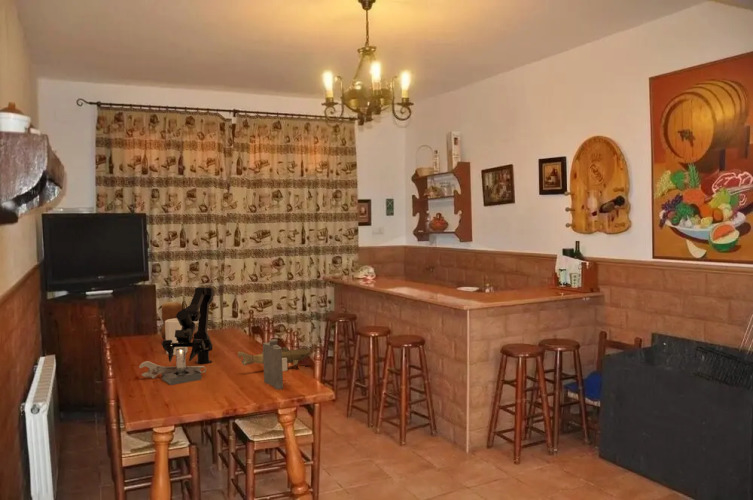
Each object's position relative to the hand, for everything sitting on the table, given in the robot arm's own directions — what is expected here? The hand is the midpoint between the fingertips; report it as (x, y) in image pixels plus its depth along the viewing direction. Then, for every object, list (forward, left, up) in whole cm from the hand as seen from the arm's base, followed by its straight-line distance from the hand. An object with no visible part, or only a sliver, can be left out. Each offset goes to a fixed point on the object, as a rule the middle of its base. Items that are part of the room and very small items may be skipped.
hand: (179, 360), depth 271 cm
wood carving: (+14, +41, -9) cm, 44 cm away
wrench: (-11, 0, -9) cm, 14 cm away
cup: (-57, +18, -9) cm, 61 cm away
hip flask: (+36, +29, -9) cm, 47 cm away
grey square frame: (-1, +1, -9) cm, 9 cm away
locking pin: (-1, +1, -9) cm, 9 cm away
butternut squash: (-86, +26, -9) cm, 90 cm away
